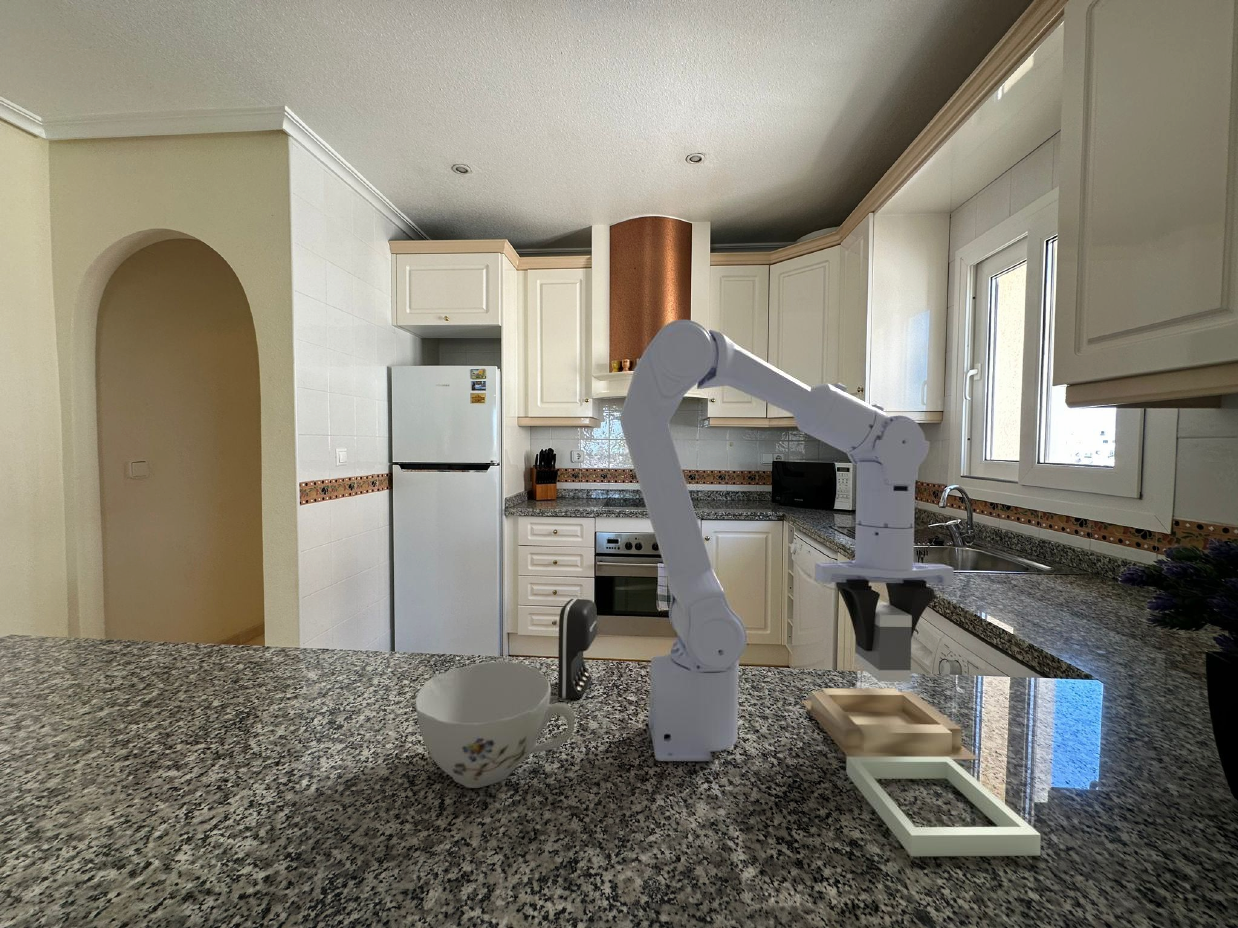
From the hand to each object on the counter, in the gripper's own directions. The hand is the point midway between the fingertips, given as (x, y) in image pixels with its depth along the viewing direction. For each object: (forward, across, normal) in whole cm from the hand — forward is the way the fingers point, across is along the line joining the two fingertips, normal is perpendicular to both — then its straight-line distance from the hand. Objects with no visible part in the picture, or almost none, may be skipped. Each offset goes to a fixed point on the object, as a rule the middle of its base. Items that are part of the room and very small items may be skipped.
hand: (881, 648), depth 55 cm
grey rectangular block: (+3, 0, 0) cm, 3 cm away
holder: (+10, 0, 0) cm, 10 cm away
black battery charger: (+10, +34, -11) cm, 37 cm away
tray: (+10, +3, +13) cm, 16 cm away
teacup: (+10, +41, +6) cm, 43 cm away
